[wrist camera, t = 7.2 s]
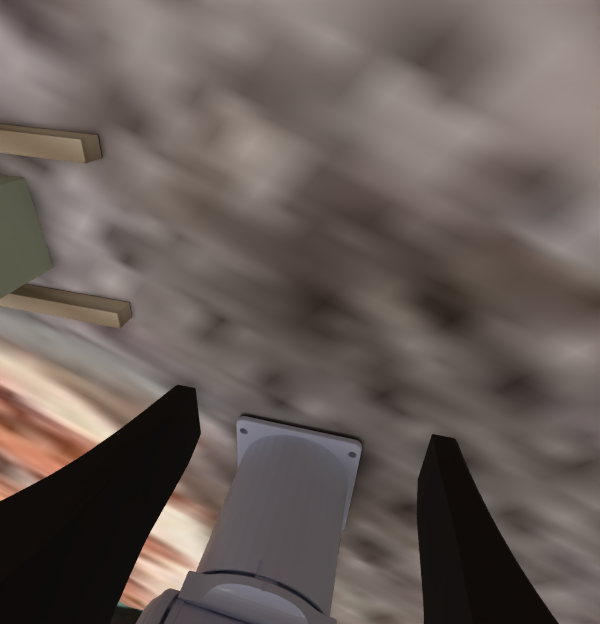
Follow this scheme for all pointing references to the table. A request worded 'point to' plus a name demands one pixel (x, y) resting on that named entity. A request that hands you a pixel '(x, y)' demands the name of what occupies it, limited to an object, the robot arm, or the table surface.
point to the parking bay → (47, 299)
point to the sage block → (19, 237)
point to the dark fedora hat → (125, 615)
